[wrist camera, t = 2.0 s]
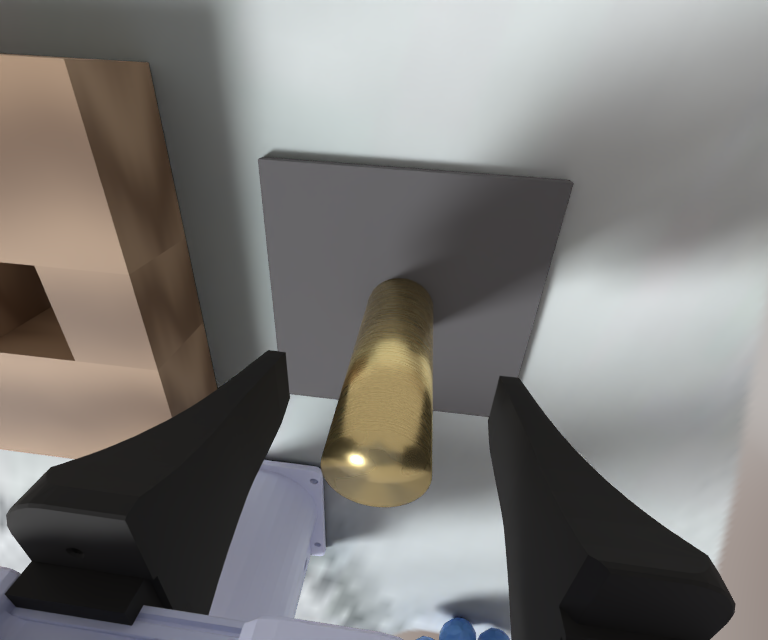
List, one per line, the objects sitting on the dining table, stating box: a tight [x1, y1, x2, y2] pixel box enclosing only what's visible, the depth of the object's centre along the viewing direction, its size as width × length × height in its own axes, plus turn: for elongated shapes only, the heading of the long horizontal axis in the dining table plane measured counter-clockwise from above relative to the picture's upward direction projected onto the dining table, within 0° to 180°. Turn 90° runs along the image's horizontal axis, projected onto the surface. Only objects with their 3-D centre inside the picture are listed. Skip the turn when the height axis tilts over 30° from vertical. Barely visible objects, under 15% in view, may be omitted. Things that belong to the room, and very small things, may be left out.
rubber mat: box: [258, 157, 573, 417], centre depth 19 cm, size 12×12×1 cm
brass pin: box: [321, 278, 433, 507], centre depth 15 cm, size 3×3×9 cm
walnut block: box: [0, 53, 217, 459], centre depth 18 cm, size 18×12×4 cm, turn 177°
